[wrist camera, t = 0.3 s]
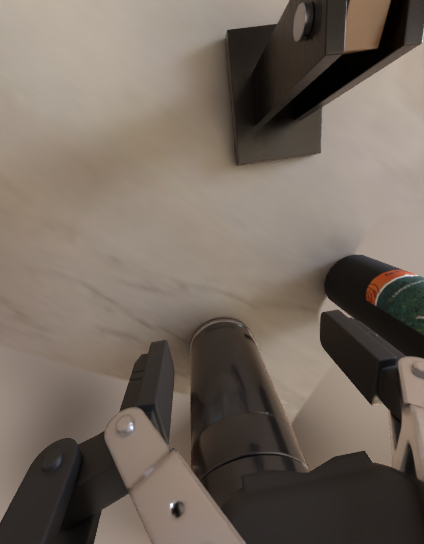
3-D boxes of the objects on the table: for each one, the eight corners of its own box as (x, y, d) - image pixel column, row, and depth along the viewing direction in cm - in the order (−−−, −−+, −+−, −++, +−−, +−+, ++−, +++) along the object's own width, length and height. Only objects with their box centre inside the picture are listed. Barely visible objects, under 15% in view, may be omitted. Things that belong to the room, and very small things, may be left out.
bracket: (225, 38, 21) (280, -205, 8) (317, 27, 21) (511, -223, 9) (236, 165, 25) (286, 137, 12) (315, 154, 25) (446, 115, 12)
